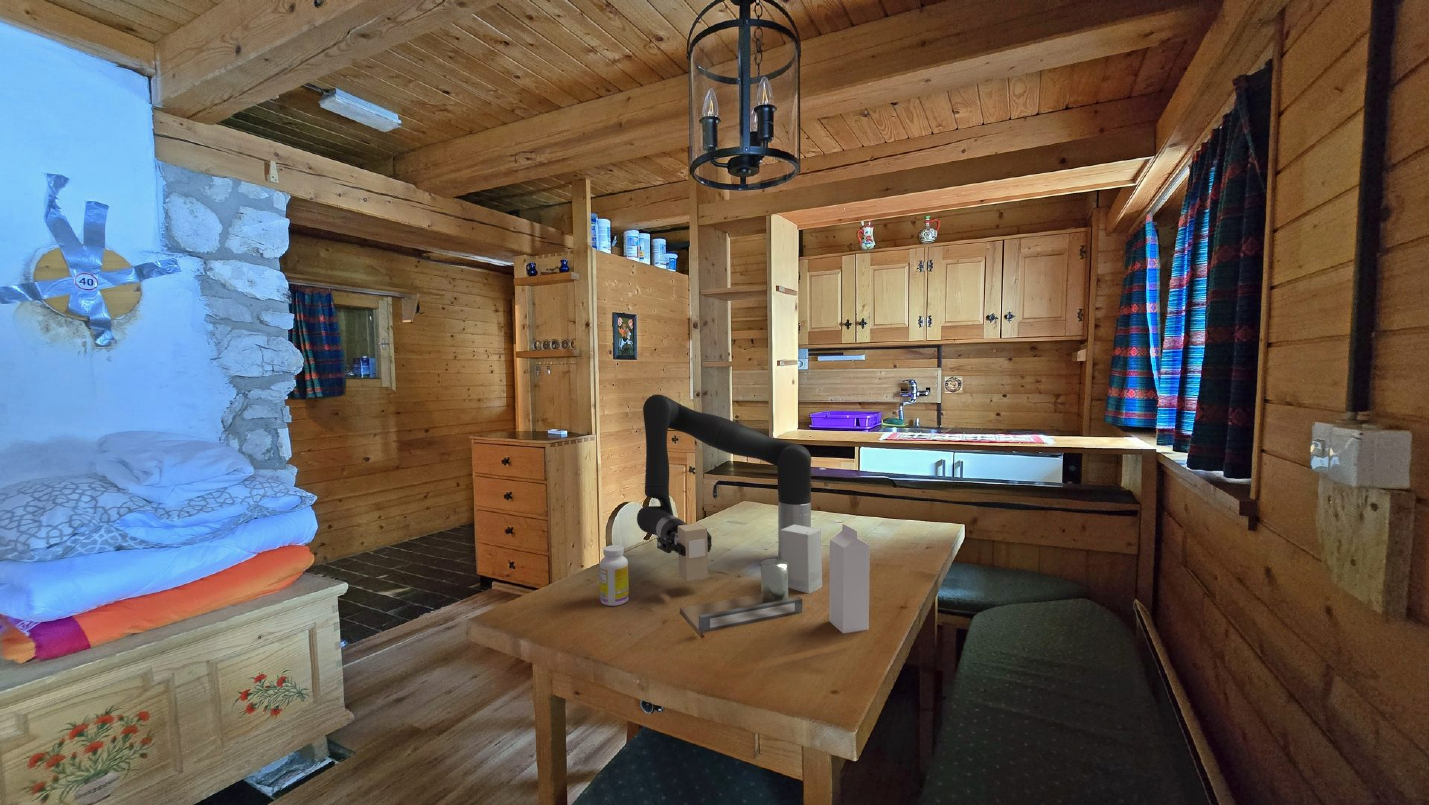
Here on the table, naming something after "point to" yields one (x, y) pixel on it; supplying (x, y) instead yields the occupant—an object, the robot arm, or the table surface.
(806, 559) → the skincare box
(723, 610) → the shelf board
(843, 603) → the milk
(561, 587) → the table surface
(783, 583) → the oat tin
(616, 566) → the supplement bottle
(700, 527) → the kraft carton
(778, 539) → the robot arm
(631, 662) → the table surface
